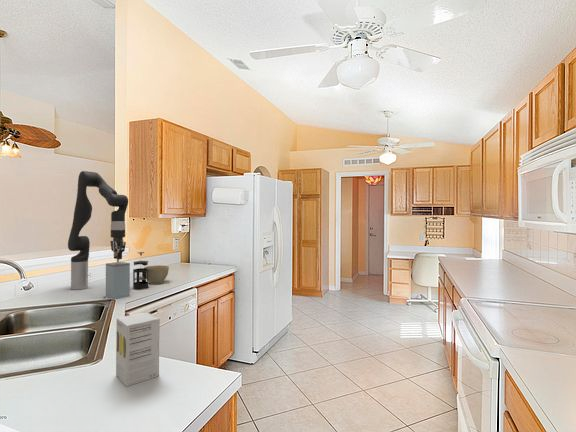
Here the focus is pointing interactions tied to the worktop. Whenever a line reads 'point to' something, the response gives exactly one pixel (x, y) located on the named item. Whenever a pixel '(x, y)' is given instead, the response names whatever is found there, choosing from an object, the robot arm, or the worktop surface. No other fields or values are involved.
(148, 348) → the supplement box
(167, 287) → the worktop surface
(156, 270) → the planter bowl
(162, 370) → the worktop surface
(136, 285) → the french press
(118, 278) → the block
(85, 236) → the robot arm
